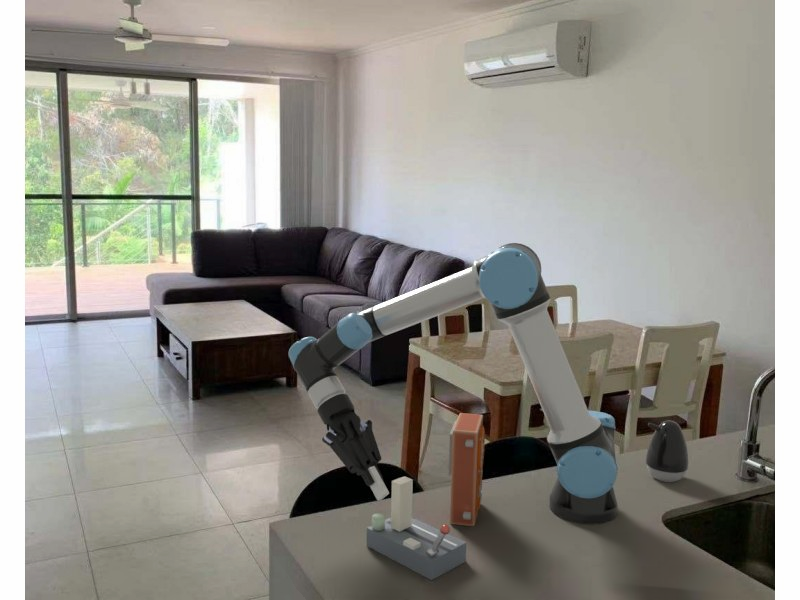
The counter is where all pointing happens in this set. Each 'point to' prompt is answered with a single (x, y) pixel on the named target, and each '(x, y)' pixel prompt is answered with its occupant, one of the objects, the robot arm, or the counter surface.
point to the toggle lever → (438, 541)
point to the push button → (378, 522)
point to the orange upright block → (466, 468)
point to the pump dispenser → (667, 452)
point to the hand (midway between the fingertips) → (383, 496)
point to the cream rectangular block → (401, 503)
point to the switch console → (418, 548)
